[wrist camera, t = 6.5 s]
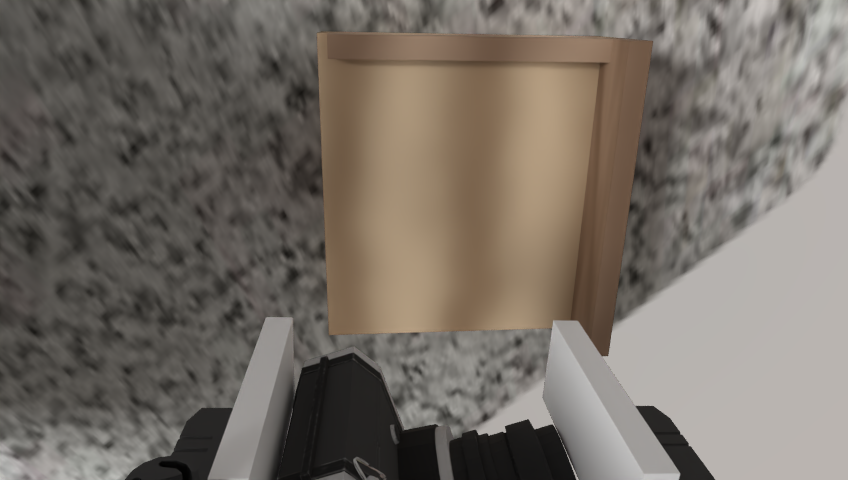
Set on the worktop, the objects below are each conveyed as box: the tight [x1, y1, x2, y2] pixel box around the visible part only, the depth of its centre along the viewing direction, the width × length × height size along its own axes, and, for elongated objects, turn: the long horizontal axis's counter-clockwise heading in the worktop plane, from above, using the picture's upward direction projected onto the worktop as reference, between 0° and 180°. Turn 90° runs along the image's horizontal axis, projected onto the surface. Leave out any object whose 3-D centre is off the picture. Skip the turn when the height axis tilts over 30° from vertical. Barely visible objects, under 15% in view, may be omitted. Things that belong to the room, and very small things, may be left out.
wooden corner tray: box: [317, 32, 653, 356], centre depth 30 cm, size 14×15×6 cm
